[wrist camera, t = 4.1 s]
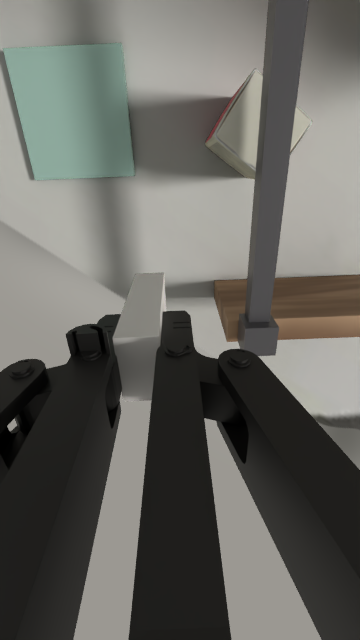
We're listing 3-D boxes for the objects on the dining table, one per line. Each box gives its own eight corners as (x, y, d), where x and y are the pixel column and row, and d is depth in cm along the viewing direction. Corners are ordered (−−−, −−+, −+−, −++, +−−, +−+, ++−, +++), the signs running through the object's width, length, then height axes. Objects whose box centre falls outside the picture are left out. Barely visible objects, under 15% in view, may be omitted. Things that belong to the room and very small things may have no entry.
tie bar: (284, -371, 10) (313, -515, 8) (352, -375, 10) (399, -520, 8) (237, 339, 24) (243, 356, 22) (266, 338, 24) (275, 355, 22)
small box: (278, 134, 25) (317, 121, 18) (246, 179, 27) (271, 184, 20) (232, 94, 24) (256, 63, 17) (202, 144, 25) (212, 136, 18)
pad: (6, 51, 22) (2, 48, 22) (122, 45, 22) (121, 43, 22) (37, 179, 27) (35, 180, 26) (135, 175, 26) (134, 175, 26)
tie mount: (222, -138, 18) (260, -389, 10) (476, -151, 18) (727, -416, 10) (214, 297, 32) (227, 341, 24) (357, 291, 32) (419, 334, 24)
